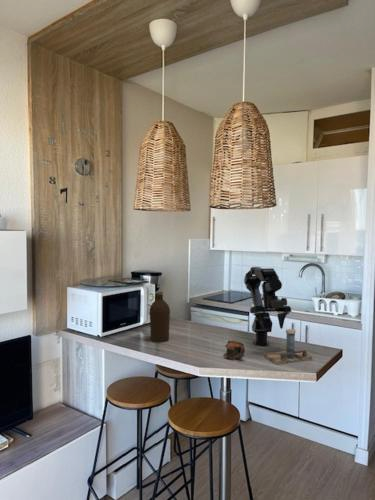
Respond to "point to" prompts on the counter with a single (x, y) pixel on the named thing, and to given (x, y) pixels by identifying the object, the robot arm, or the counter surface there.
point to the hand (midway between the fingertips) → (272, 328)
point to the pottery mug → (234, 350)
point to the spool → (290, 344)
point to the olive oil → (159, 319)
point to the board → (280, 356)
